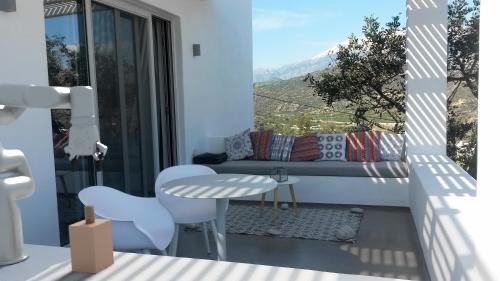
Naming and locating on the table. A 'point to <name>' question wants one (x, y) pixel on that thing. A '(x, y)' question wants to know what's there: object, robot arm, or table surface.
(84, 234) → the cover
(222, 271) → the table surface
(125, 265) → the table surface
